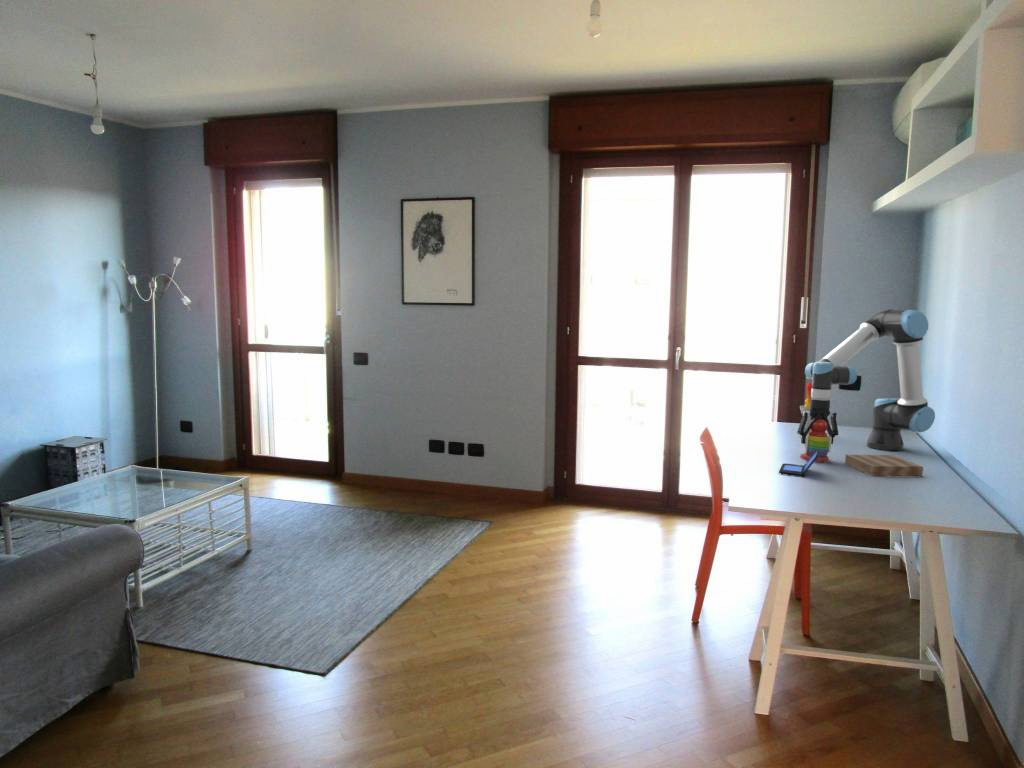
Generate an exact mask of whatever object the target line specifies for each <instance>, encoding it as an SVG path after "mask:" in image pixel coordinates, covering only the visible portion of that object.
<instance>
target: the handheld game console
mask: <svg viewBox="0 0 1024 768" xmlns="http://www.w3.org/2000/svg"><path fill="white" fill-rule="evenodd" d="M819 451H820V449H818V450H817V451H816V452H815V454H814V455H813V456H812V457H811V459H810V460H809V461H807V462H806V463H804V465H802V464H795V463H782V464H781V466H780V468H779V470H778V474H780V473H781V474H780V475H783V474H787V475H786V476H791V475H794V476H793V477H799V476H801V477H800V478H805V476H806V473H807V471H808V470H809V469H810V468H811V467H812V465H813V464H814V463H815V462H814V461H815V460H816V459H817V458H818V455H819Z"/></svg>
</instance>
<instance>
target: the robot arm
mask: <svg viewBox="0 0 1024 768" xmlns="http://www.w3.org/2000/svg"><path fill="white" fill-rule="evenodd" d="M928 320H929V319H928V318H927V316H926V315H925V314H924V313H923V312H921V311H919V310H915V309H892V308H891V309H885V310H882V311H879V312H877V313H875V314H873V315H872V316H870V317H868V318H867V319H866V320H864V321H863V322H862V323H861V324H860V326H859V328H858V329H857V330H856V331H854V332H853V333H852V334H851V335H850V336H848V337H847V338H846V339H845V340H844V341H842V342H841V343H840V344H838V345H837V346H836V347H835V348H834V349H832V350H831V351H830V352H829V353H827V354H826V355H825V356H824V357H822V358H821V359H820V360H819V361H815V362H810V363H808V364H807V365H806V366H805V369H804V375H805V377H807V378H809V379H808V380H812V381H811V383H812V390H811V397H812V399H811V402H810V411H808V412H805V411H803V412H802V413H801V415H802V417H801V420H800V422H799V425H798V429H797V431H796V434H797V435H798V434H800V435H801V436H802V437H800V439H801V440H800V441H801V444H802V452H803V453H806V452H807V447H808V437H807V434H808V432H809V431H810V429H811V427H812V426H813V423H815V422H816V420H818V419H823V420H825V421H826V422H827V425H828V426H827V430H826V433H827V436H828V437H829V444H830V446H829V451H828V453H831V449H832V448H831V447H832V445H833V443H834V438H835V437H836V436H839V429H838V423H837V415H838V414H837V412H835V411H830V408H831V400H830V399H831V397H832V396H831V393H832V386H833V385H845V386H846V385H851V384H854V383H855V382H856V381H857V378H858V372H857V370H856V369H855V367H852V366H846V365H845V363H846V362H848V361H849V360H850V359H851V358H852V357H854V356H855V355H857V353H860V351H861V350H863V349H864V348H865V347H866V346H867V345H868V344H870V343H871V342H875V341H877V340H880V338H882V337H887V336H889V337H891V342H892V344H894V345H895V346H896V355H897V369H898V380H899V391H900V393H899V394H900V398H876V399H875V401H874V406H873V415H872V416H873V417H872V428H871V432H870V434H869V436H868V438H867V440H866V447H868V446H869V447H868V448H870V447H872V449H874V448H876V450H880V449H882V450H881V451H889V450H900V451H903V450H904V447H905V446H904V441H903V436H902V431H901V429H902V430H907V431H911V432H914V433H915V432H918V433H924V432H926V431H928V430H929V429H930V428H931V427H932V425H934V423H935V419H936V412H935V410H934V409H933V408H932V407H931V406H929V404H928V403H929V402H928V399H927V398H925V396H924V393H923V392H924V391H923V379H922V378H923V377H922V376H923V375H922V365H921V353H920V351H921V350H920V344H921V343H922V341H923V340H924V338H923V337H925V336H926V335H927V331H928V330H929V321H928ZM843 365H845V366H843ZM807 378H806V379H807ZM809 414H810V416H811V417H810V419H809V422H808V423H807V425H806V422H807V418H808V416H809ZM828 417H829V419H830V421H829V419H828ZM812 419H813V420H812ZM830 423H831V424H830ZM805 425H806V427H805Z"/></svg>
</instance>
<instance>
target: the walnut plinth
mask: <svg viewBox="0 0 1024 768" xmlns="http://www.w3.org/2000/svg"><path fill="white" fill-rule="evenodd" d="M844 460H845V461H844V464H845V465H846V466H848V467H850V466H851V467H850V468H853V469H855V470H857V469H858V470H857V471H859V470H860V471H859V472H861V471H863V472H865V473H864V474H866V473H867V474H866V475H868V474H869V475H868V476H870V475H871V476H870V477H884V476H922V477H923V472H924V466H923V465H920V464H917V463H914V462H912V461H909V460H907V459H904V458H901V457H898V456H896V455H893V454H845V459H844ZM863 472H862V473H863Z"/></svg>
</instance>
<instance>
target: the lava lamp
mask: <svg viewBox="0 0 1024 768" xmlns="http://www.w3.org/2000/svg"><path fill="white" fill-rule="evenodd" d="M805 379H806V380H810V379H809V378H807V376H805ZM805 389H806V394H807V398H806V399H805V400H804V403H805V404H800V405H799V409H800V413H801V414H802V412H803V411H805V412H808V411H810V402H811V399H812V397H811V390H812V382H808V383H807V384H806V387H805ZM810 417H811V416H810V414H809V416H808V418H807V422H806V425H807V423H808V422H809V419H810ZM806 425H805V427H806ZM810 431H812V430H811V429H810ZM810 431H809V432H810ZM809 432H808V434H809ZM808 434H807V436H808ZM798 435H799V436H798ZM797 436H798V437H800V436H801V435H800V434H798V433H797Z"/></svg>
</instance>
